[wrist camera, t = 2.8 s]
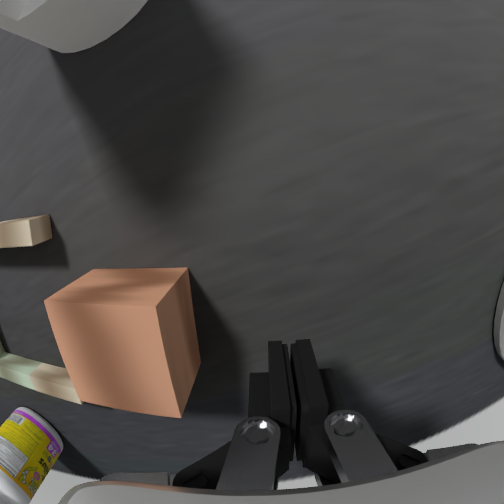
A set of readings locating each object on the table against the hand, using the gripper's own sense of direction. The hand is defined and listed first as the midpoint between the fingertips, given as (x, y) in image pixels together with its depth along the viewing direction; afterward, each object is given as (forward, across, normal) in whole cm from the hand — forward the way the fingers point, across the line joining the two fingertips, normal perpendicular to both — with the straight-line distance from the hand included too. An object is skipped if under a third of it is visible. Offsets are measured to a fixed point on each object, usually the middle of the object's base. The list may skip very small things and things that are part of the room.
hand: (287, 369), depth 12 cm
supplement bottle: (+6, +25, +15) cm, 29 cm away
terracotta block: (+5, +8, 0) cm, 9 cm away
